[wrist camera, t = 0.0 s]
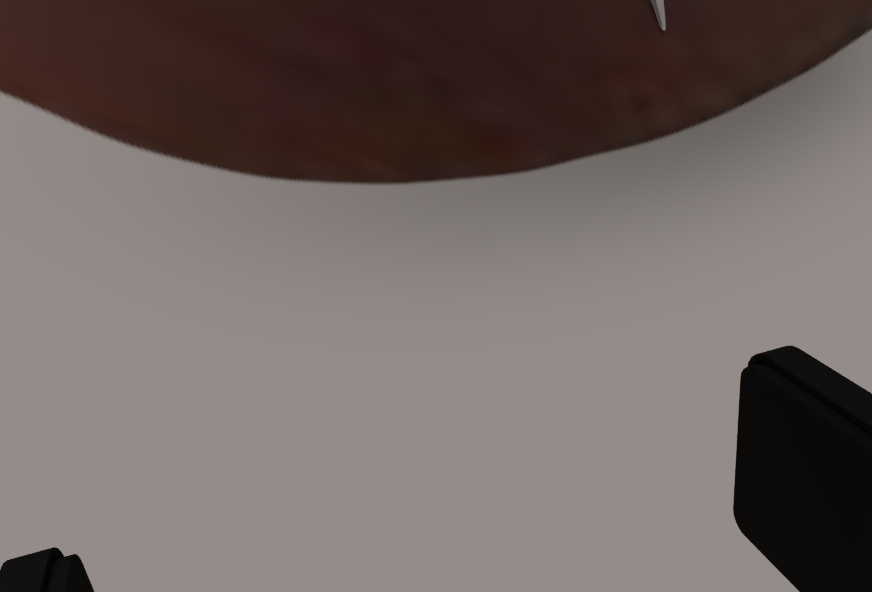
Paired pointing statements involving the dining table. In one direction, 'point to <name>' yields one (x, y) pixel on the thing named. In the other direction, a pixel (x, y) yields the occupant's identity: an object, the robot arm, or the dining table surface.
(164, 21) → the dining table surface
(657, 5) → the white long tapered piece
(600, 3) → the dining table surface
